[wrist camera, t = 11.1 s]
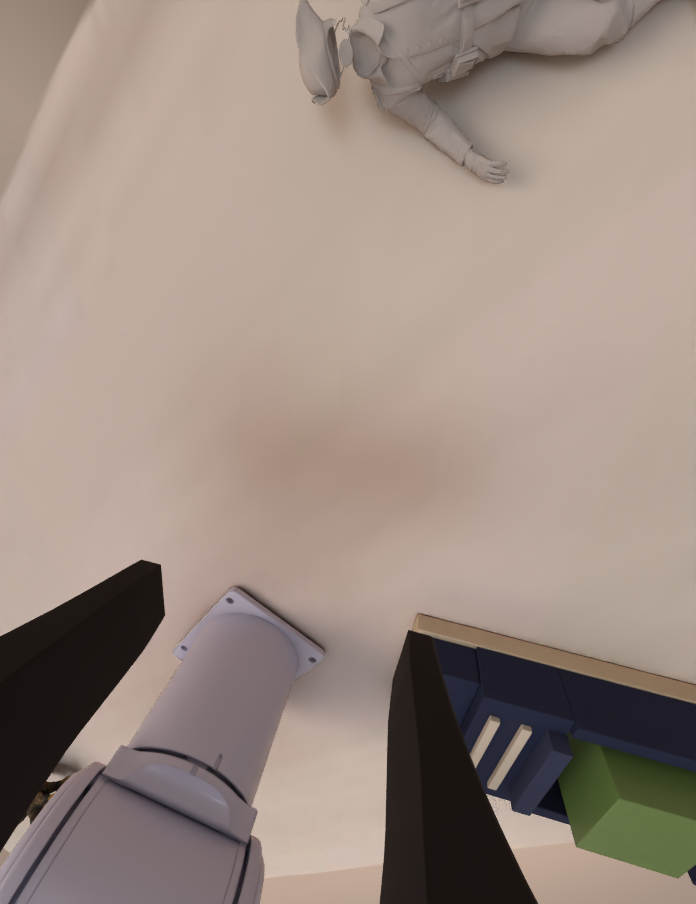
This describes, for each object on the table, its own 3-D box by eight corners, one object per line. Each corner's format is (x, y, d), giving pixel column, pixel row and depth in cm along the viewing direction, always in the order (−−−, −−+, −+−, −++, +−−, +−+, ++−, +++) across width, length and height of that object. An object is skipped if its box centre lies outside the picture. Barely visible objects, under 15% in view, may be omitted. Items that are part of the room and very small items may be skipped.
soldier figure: (678, 122, 13) (364, 258, 13) (590, 68, 15) (320, 186, 16) (963, -434, 6) (299, -137, 6) (732, -392, 8) (235, -169, 8)
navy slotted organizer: (731, 694, 21) (825, 817, 16) (657, 772, 25) (715, 893, 20) (417, 613, 23) (415, 701, 18) (390, 697, 27) (383, 790, 22)
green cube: (629, 765, 23) (678, 879, 19) (547, 741, 24) (575, 847, 19) (671, 717, 21) (737, 833, 17) (579, 693, 22) (619, 799, 17)
